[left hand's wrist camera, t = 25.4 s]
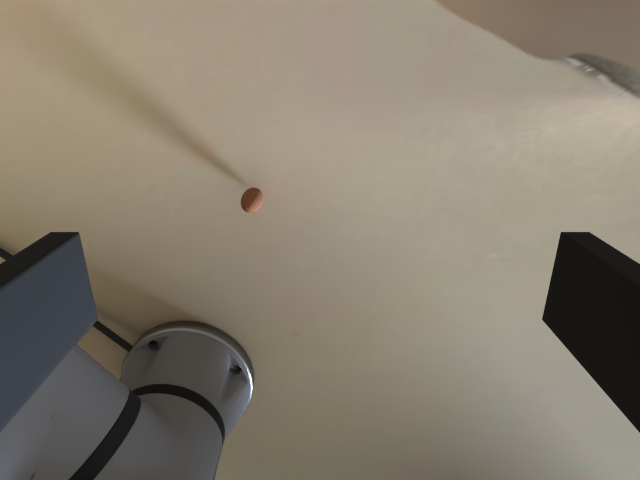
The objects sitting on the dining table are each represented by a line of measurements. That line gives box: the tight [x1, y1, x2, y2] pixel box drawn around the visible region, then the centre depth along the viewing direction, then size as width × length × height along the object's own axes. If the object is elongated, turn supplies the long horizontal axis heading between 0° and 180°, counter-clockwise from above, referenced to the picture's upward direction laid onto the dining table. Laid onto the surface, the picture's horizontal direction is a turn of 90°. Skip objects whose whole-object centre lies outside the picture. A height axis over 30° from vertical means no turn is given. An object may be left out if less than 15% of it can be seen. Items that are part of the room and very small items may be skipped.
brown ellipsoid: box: [241, 188, 263, 213], centre depth 43 cm, size 2×2×5 cm
